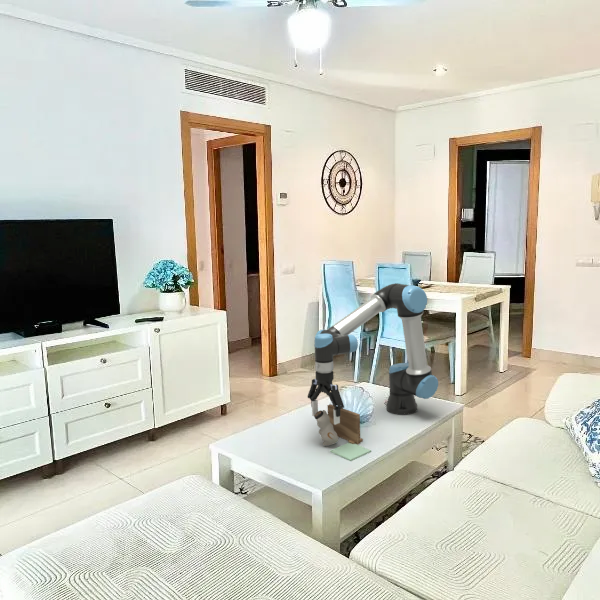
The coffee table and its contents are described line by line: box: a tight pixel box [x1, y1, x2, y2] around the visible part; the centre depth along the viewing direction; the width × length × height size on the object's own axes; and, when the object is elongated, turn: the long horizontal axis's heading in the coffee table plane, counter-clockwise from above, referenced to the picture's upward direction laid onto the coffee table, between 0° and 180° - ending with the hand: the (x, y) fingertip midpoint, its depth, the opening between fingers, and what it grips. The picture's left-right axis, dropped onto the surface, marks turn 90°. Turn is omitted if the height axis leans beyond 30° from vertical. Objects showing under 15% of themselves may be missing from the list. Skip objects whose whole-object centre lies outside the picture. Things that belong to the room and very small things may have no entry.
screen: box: [327, 403, 364, 445], centre depth 236 cm, size 6×18×13 cm, turn 40°
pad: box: [329, 442, 372, 462], centre depth 223 cm, size 12×12×1 cm
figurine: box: [313, 409, 339, 447], centre depth 230 cm, size 9×10×15 cm
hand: (325, 419), depth 229 cm, fingers open, 13 cm apart
